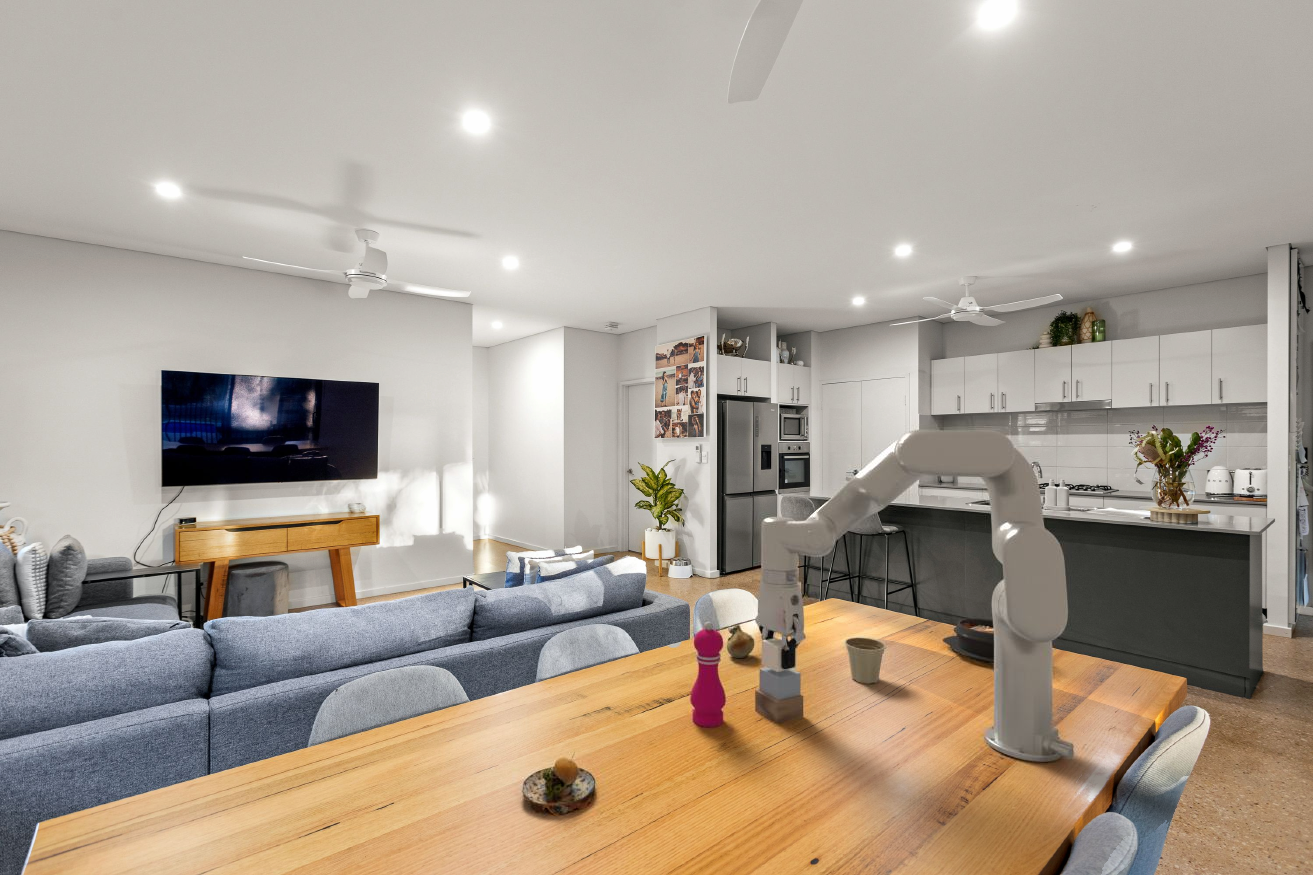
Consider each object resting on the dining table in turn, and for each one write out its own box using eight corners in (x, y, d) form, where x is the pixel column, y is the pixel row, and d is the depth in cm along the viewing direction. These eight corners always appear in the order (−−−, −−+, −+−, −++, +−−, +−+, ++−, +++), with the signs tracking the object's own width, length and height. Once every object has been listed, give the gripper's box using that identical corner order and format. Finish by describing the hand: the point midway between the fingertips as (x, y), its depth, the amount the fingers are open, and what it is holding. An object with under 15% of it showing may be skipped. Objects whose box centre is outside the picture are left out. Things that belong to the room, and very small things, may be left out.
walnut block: (803, 717, 131) (803, 695, 131) (777, 724, 127) (777, 702, 127) (780, 705, 137) (780, 684, 137) (755, 711, 133) (755, 690, 133)
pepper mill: (723, 730, 124) (724, 628, 124) (687, 726, 126) (688, 625, 126) (727, 714, 131) (728, 618, 131) (692, 711, 133) (693, 615, 133)
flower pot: (891, 687, 147) (891, 650, 147) (850, 686, 147) (851, 649, 147) (878, 672, 156) (878, 637, 156) (840, 671, 156) (840, 637, 157)
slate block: (800, 694, 131) (800, 673, 131) (777, 700, 128) (777, 678, 128) (781, 685, 136) (781, 664, 136) (759, 689, 133) (759, 668, 134)
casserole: (926, 646, 177) (926, 616, 177) (976, 639, 184) (977, 611, 184) (1002, 677, 154) (1002, 643, 154) (1057, 669, 160) (1057, 635, 160)
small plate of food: (562, 768, 110) (562, 725, 110) (611, 792, 102) (611, 746, 102) (505, 798, 100) (505, 750, 100) (555, 827, 93) (555, 775, 93)
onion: (722, 660, 164) (723, 629, 164) (728, 650, 172) (728, 621, 172) (752, 663, 162) (752, 632, 162) (756, 653, 170) (756, 623, 170)
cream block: (796, 667, 131) (796, 643, 131) (777, 671, 129) (777, 647, 129) (780, 660, 136) (780, 637, 136) (761, 664, 133) (761, 640, 133)
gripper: (821, 582, 127) (821, 673, 127) (767, 567, 142) (766, 649, 142) (793, 586, 123) (792, 680, 123) (740, 570, 138) (739, 654, 138)
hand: (778, 662), depth 132 cm, fingers closed on cream block, 5 cm apart
